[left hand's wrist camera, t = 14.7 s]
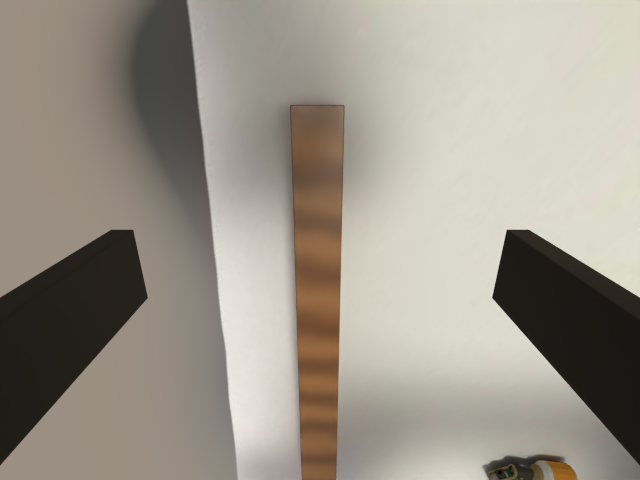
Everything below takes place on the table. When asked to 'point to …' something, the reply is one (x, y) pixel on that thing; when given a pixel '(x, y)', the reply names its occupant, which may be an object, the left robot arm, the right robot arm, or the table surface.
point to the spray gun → (535, 472)
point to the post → (318, 278)
